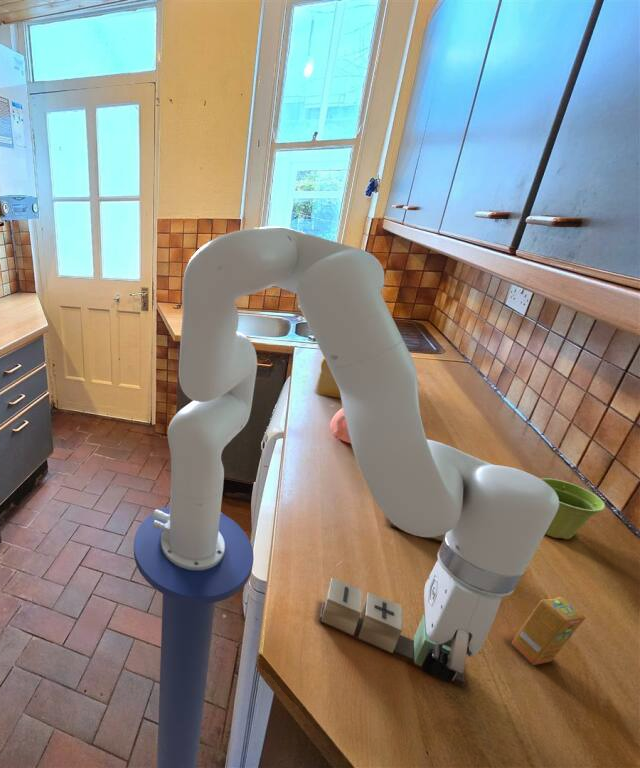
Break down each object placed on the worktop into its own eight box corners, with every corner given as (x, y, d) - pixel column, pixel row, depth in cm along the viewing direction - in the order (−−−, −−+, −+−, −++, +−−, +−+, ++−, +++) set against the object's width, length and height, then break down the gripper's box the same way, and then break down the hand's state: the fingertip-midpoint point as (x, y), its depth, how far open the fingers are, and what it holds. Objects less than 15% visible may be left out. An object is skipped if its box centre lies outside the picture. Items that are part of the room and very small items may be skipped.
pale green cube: (414, 663, 56) (425, 639, 54) (413, 636, 60) (423, 613, 58) (453, 681, 54) (466, 657, 52) (450, 652, 58) (462, 629, 56)
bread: (323, 369, 156) (330, 332, 150) (360, 375, 150) (370, 337, 144) (315, 393, 137) (323, 351, 131) (357, 401, 131) (368, 358, 125)
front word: (318, 624, 63) (325, 597, 60) (322, 602, 66) (329, 576, 64) (463, 691, 54) (478, 662, 52) (459, 661, 57) (474, 633, 55)
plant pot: (527, 505, 86) (543, 472, 83) (589, 533, 79) (611, 497, 75) (511, 523, 82) (528, 489, 78) (576, 554, 74) (598, 518, 71)
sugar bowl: (388, 443, 108) (399, 410, 104) (350, 455, 104) (359, 421, 99) (350, 422, 119) (357, 391, 115) (313, 432, 114) (320, 400, 110)
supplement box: (534, 668, 57) (566, 620, 52) (510, 643, 60) (537, 597, 56) (554, 663, 57) (587, 616, 53) (529, 640, 60) (558, 593, 56)
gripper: (436, 508, 58) (402, 596, 65) (446, 601, 44) (402, 698, 52) (504, 528, 54) (460, 619, 62) (537, 636, 41) (476, 734, 48)
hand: (434, 654), depth 57 cm, fingers open, 5 cm apart
